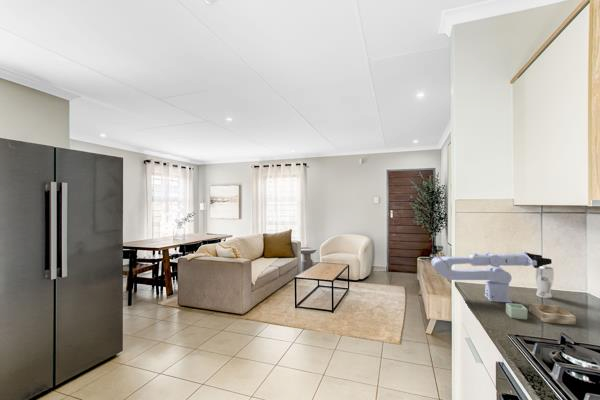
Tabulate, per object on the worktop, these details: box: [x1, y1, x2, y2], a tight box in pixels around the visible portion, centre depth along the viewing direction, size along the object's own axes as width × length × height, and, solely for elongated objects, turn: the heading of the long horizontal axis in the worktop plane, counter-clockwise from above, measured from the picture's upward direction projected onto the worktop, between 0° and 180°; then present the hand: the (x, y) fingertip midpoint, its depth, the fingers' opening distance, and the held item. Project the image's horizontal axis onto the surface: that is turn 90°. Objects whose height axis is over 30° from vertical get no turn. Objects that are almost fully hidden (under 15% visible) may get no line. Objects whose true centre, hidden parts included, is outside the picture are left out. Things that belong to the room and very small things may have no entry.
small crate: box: [505, 302, 529, 320], centre depth 124 cm, size 6×5×4 cm
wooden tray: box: [528, 303, 577, 326], centre depth 123 cm, size 12×11×4 cm
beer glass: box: [535, 265, 555, 299], centre depth 146 cm, size 7×7×15 cm
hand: (546, 259), depth 137 cm, fingers open, 7 cm apart
